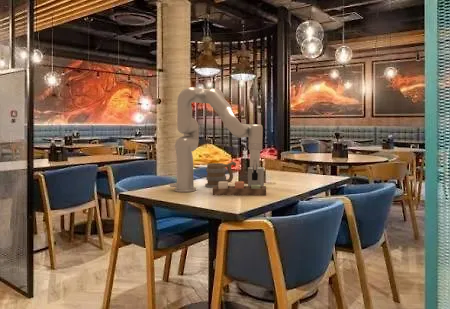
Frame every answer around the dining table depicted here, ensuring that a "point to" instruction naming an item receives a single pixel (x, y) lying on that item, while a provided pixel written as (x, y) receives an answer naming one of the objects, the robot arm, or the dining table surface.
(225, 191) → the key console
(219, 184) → the cream key
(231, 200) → the dining table surface
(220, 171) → the tankard
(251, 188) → the sage key
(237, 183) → the terracotta key
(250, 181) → the grey stone cylinder
